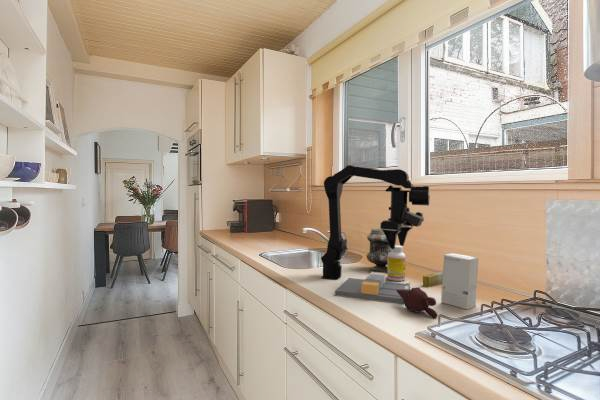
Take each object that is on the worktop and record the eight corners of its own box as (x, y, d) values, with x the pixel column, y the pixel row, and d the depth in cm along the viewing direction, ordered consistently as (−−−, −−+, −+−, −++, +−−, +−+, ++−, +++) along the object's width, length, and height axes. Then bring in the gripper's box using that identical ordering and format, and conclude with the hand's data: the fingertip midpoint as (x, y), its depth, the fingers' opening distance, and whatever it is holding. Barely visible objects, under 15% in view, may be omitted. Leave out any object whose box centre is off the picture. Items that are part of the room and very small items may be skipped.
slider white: (369, 282, 121) (369, 274, 121) (371, 280, 124) (371, 271, 124) (383, 283, 119) (384, 275, 119) (385, 281, 122) (385, 273, 122)
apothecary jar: (398, 269, 149) (399, 228, 148) (390, 275, 138) (390, 231, 138) (372, 266, 155) (372, 226, 155) (362, 271, 145) (362, 229, 144)
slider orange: (361, 293, 108) (361, 283, 108) (363, 290, 111) (363, 281, 111) (377, 295, 106) (377, 285, 106) (379, 292, 109) (379, 282, 109)
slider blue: (365, 287, 114) (365, 278, 114) (367, 284, 118) (367, 276, 118) (380, 289, 112) (380, 280, 112) (382, 286, 116) (382, 277, 116)
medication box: (441, 281, 130) (441, 270, 130) (448, 282, 128) (448, 272, 128) (422, 286, 123) (422, 275, 123) (429, 287, 121) (429, 276, 121)
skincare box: (440, 302, 104) (441, 254, 103) (450, 299, 108) (451, 252, 107) (468, 310, 97) (469, 258, 97) (478, 306, 101) (479, 256, 101)
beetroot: (385, 284, 101) (424, 303, 88) (404, 275, 104) (444, 292, 91) (388, 305, 103) (427, 327, 89) (407, 295, 106) (447, 316, 92)
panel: (335, 295, 111) (335, 287, 111) (348, 281, 128) (348, 274, 127) (405, 303, 103) (405, 295, 102) (410, 288, 119) (410, 280, 119)
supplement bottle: (406, 282, 128) (406, 248, 127) (387, 281, 129) (388, 247, 129) (404, 277, 134) (404, 245, 134) (387, 276, 136) (387, 244, 135)
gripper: (412, 206, 111) (411, 253, 111) (429, 204, 126) (427, 246, 126) (380, 204, 117) (379, 249, 118) (399, 203, 132) (398, 243, 133)
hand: (397, 247), depth 123 cm, fingers open, 9 cm apart
